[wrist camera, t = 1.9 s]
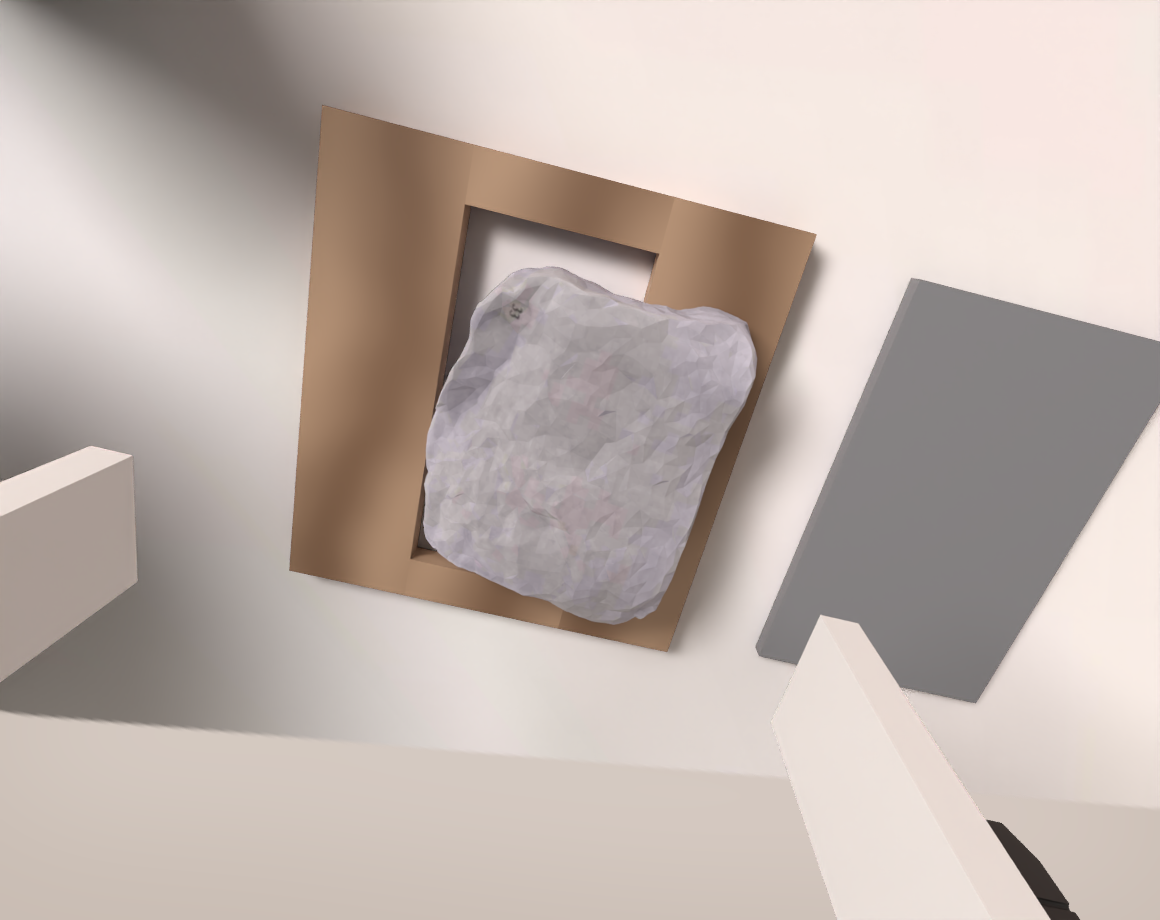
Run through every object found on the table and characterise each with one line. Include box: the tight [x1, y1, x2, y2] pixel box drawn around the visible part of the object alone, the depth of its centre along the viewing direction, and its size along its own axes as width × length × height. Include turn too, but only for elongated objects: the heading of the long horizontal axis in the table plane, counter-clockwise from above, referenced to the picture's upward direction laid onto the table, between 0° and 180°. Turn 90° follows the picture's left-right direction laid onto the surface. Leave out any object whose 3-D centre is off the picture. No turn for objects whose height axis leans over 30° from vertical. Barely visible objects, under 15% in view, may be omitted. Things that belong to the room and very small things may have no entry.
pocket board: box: [289, 105, 817, 652], centre depth 22 cm, size 16×17×1 cm
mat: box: [756, 278, 1160, 703], centre depth 23 cm, size 10×16×1 cm, turn 167°
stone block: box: [423, 267, 757, 625], centre depth 21 cm, size 12×5×10 cm
